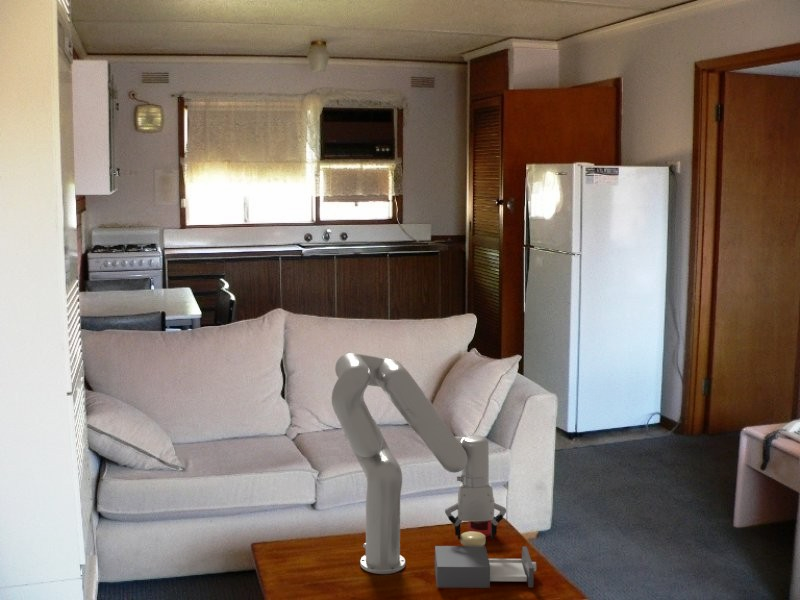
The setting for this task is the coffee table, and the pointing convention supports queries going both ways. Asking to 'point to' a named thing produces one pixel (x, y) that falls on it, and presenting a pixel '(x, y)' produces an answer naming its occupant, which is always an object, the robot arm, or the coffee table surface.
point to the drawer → (513, 569)
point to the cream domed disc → (472, 539)
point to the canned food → (481, 527)
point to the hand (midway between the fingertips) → (475, 537)
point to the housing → (462, 566)
